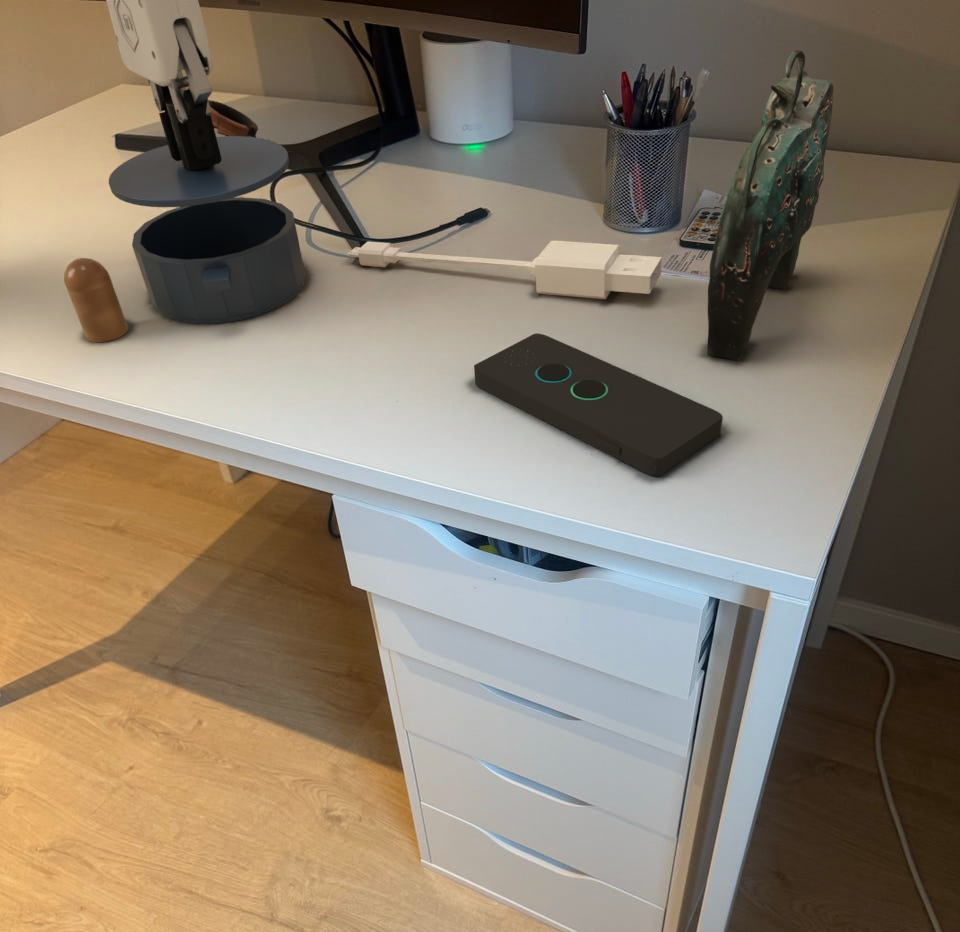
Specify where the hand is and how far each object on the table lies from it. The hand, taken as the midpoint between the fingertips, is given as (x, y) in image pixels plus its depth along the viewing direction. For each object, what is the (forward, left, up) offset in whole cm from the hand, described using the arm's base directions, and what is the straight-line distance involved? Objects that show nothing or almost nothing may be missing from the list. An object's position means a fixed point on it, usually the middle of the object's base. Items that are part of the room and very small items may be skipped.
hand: (196, 159), depth 83 cm
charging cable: (+27, -7, -12) cm, 30 cm away
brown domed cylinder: (-12, -6, -12) cm, 18 cm away
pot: (0, 0, -12) cm, 12 cm away
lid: (0, 0, -1) cm, 1 cm away
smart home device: (+29, -32, -12) cm, 45 cm away
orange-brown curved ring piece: (-1, +37, -12) cm, 39 cm away
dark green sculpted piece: (+47, -21, -12) cm, 53 cm away
